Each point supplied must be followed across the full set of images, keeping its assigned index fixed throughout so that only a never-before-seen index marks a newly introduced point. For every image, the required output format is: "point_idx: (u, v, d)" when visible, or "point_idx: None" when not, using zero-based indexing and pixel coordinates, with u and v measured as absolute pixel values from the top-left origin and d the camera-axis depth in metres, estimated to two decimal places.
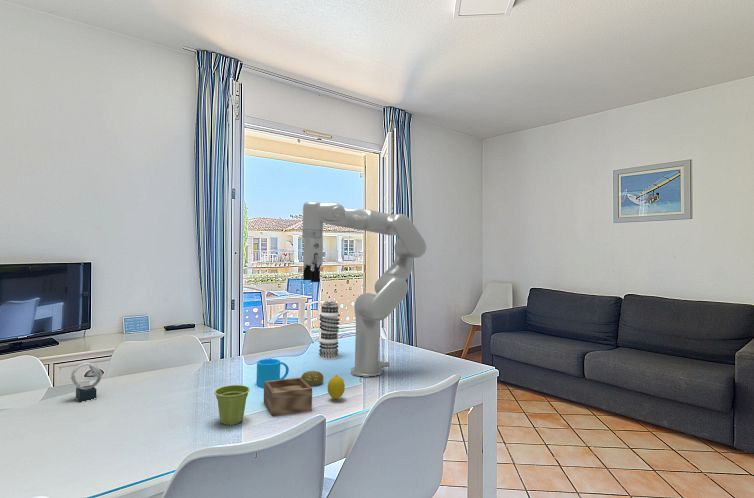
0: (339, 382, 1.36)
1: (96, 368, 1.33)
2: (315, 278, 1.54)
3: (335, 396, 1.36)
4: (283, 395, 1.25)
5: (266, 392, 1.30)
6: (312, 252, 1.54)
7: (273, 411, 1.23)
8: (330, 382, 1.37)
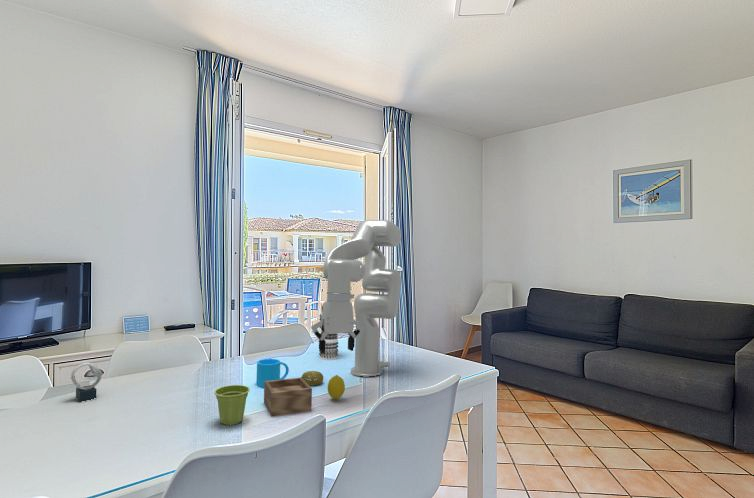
0: (339, 382, 1.36)
1: (96, 368, 1.33)
2: None
3: (335, 396, 1.36)
4: (282, 395, 1.25)
5: (266, 392, 1.30)
6: None
7: (272, 411, 1.23)
8: (330, 382, 1.37)
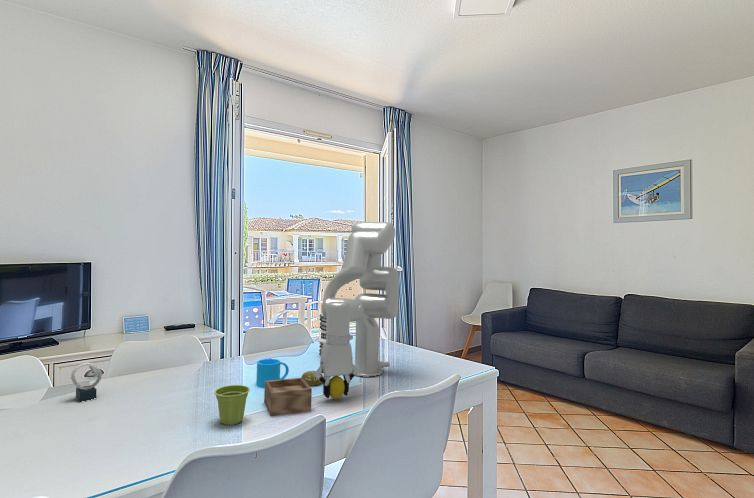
0: (339, 382, 1.36)
1: (96, 368, 1.33)
2: None
3: (335, 396, 1.36)
4: (282, 395, 1.25)
5: (266, 392, 1.30)
6: None
7: (272, 411, 1.23)
8: (330, 382, 1.37)
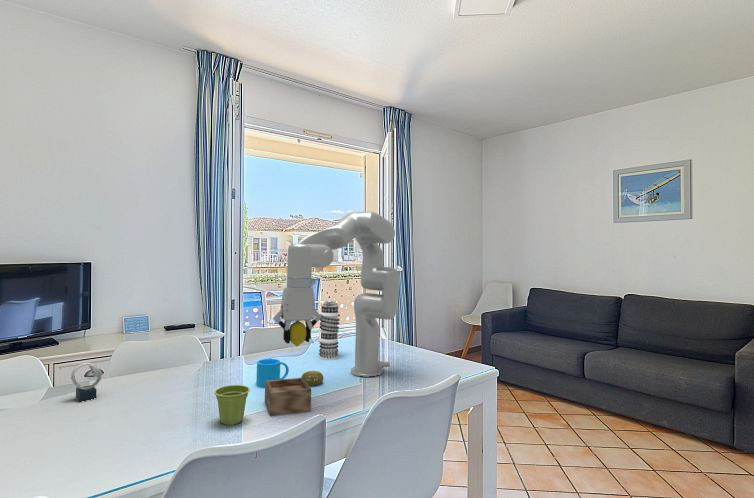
0: (300, 326, 1.30)
1: (96, 368, 1.33)
2: None
3: (296, 341, 1.30)
4: (281, 395, 1.25)
5: (266, 392, 1.31)
6: (314, 304, 1.33)
7: (271, 411, 1.23)
8: (291, 327, 1.31)
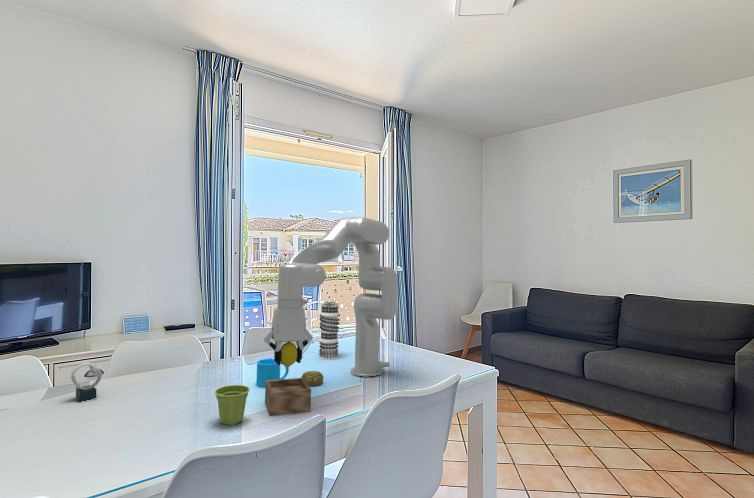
0: (291, 348, 1.29)
1: (96, 368, 1.33)
2: None
3: (286, 363, 1.29)
4: (281, 395, 1.25)
5: (266, 391, 1.31)
6: (305, 324, 1.32)
7: (271, 411, 1.24)
8: (281, 348, 1.30)
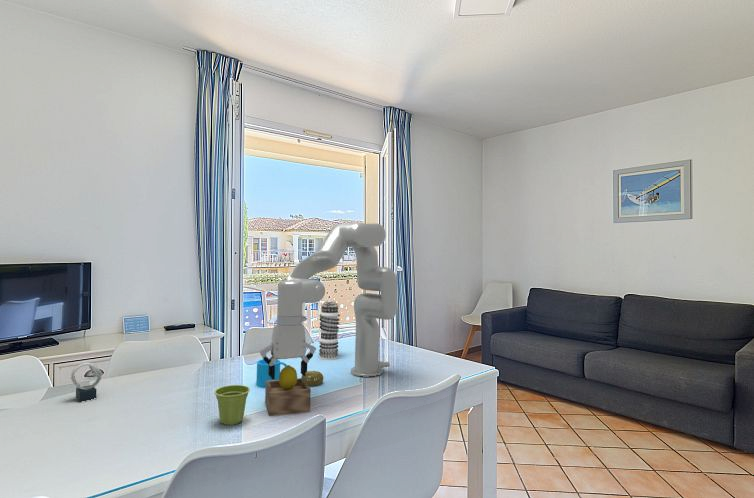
0: (291, 372, 1.30)
1: (96, 368, 1.33)
2: None
3: (286, 387, 1.29)
4: (281, 395, 1.25)
5: (266, 392, 1.31)
6: (305, 341, 1.32)
7: (271, 411, 1.24)
8: (281, 372, 1.30)
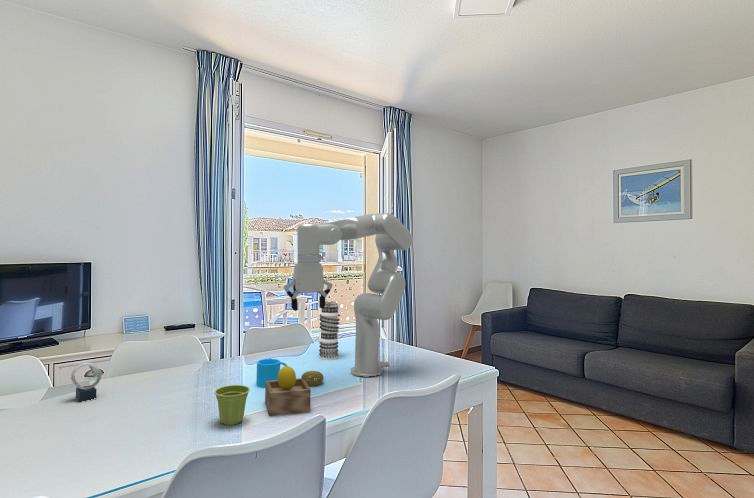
0: (289, 372, 1.29)
1: (96, 368, 1.33)
2: None
3: (285, 387, 1.29)
4: (281, 395, 1.24)
5: (266, 392, 1.31)
6: None
7: (270, 411, 1.23)
8: (279, 373, 1.30)
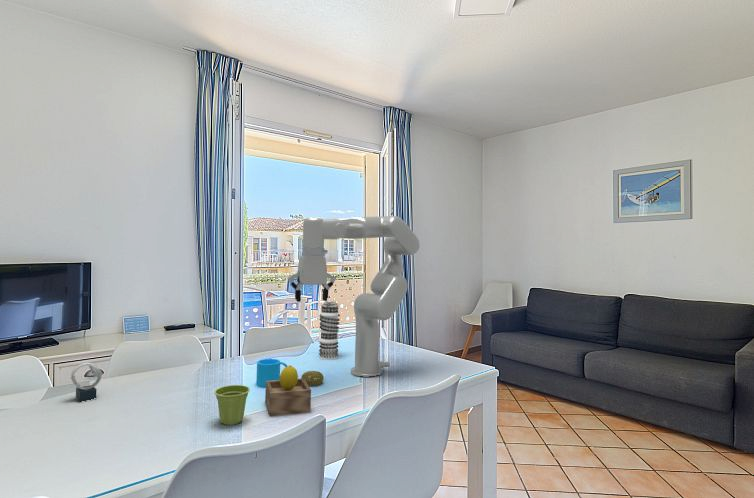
0: (291, 372, 1.29)
1: (96, 368, 1.33)
2: None
3: (285, 387, 1.29)
4: (281, 396, 1.24)
5: (266, 392, 1.31)
6: (326, 271, 1.52)
7: (271, 411, 1.23)
8: (282, 371, 1.30)
